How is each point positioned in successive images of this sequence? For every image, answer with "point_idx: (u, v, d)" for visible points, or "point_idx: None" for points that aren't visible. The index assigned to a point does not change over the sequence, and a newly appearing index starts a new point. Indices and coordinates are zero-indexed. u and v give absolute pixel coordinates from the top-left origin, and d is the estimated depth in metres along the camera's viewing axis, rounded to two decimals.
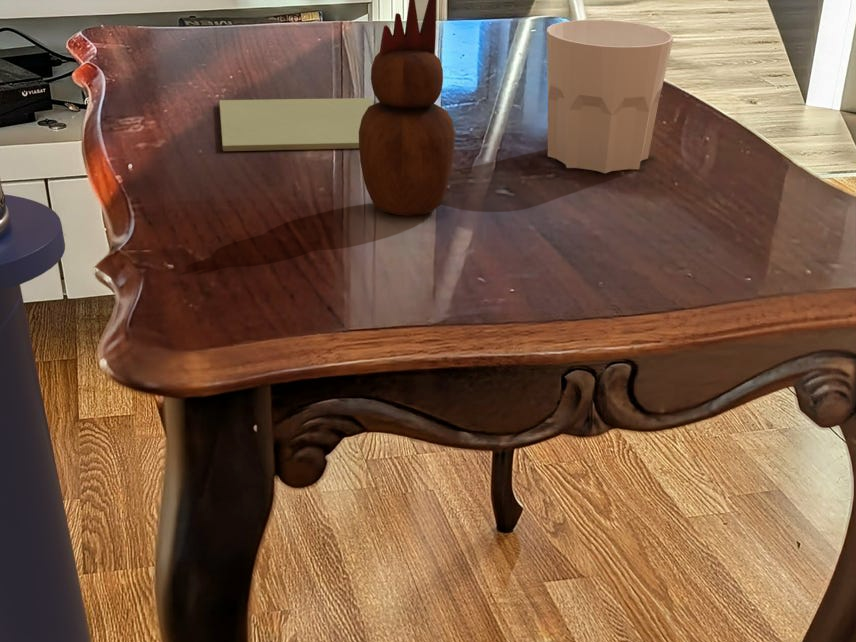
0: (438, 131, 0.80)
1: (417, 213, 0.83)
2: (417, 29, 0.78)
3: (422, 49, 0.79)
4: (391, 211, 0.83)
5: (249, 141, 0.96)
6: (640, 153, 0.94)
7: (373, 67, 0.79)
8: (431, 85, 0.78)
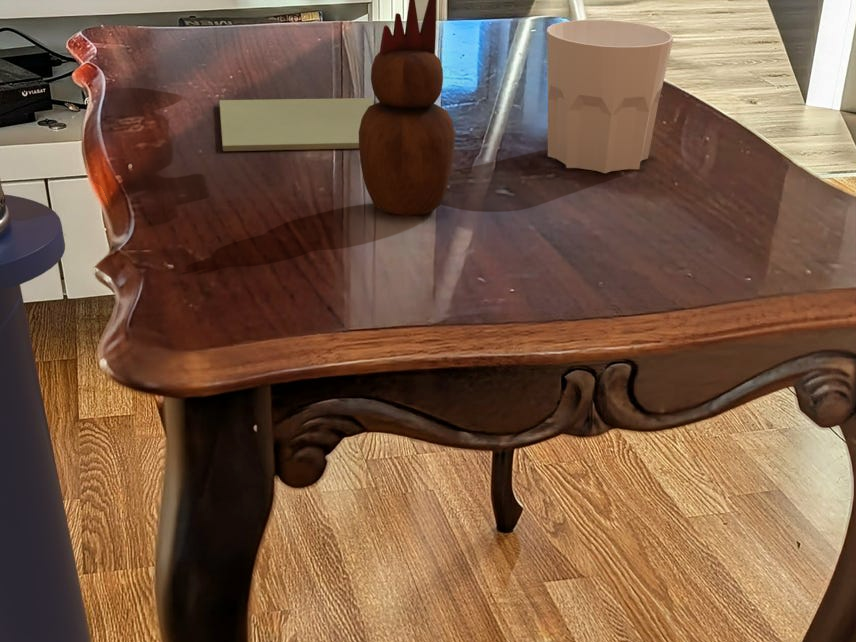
0: (438, 131, 0.80)
1: (417, 213, 0.83)
2: (417, 29, 0.78)
3: (422, 49, 0.79)
4: (391, 211, 0.83)
5: (249, 141, 0.96)
6: (640, 153, 0.94)
7: (373, 67, 0.79)
8: (431, 85, 0.78)
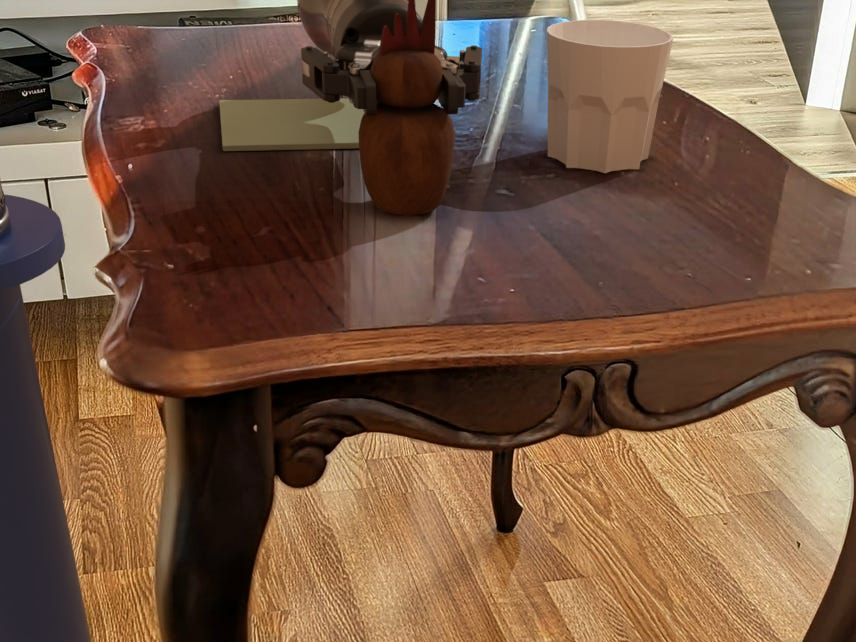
0: (438, 131, 0.80)
1: (417, 213, 0.83)
2: (417, 29, 0.78)
3: (422, 49, 0.79)
4: (391, 211, 0.83)
5: (249, 141, 0.96)
6: (640, 153, 0.94)
7: (373, 67, 0.79)
8: (431, 85, 0.78)
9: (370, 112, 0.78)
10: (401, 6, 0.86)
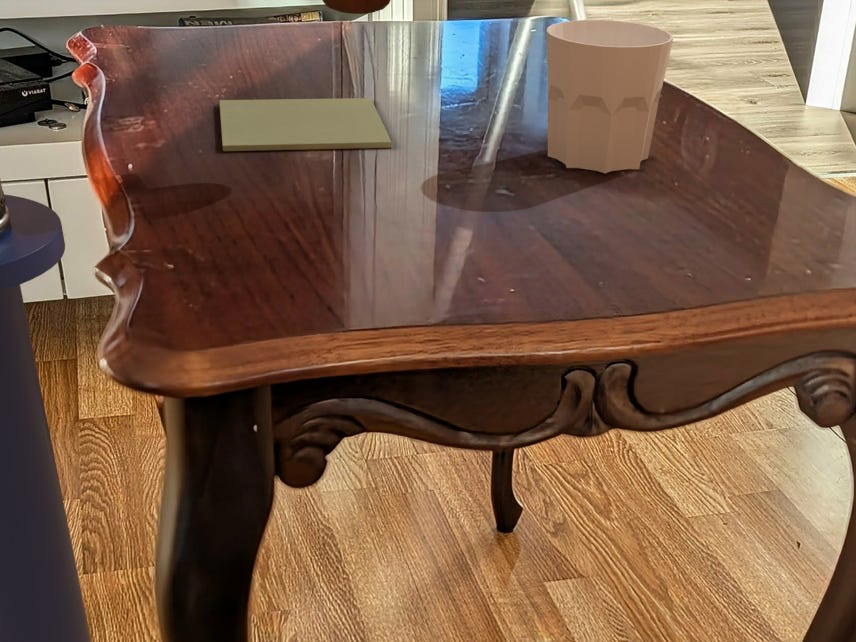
0: None
1: (375, 9, 0.88)
2: None
3: None
4: (353, 9, 0.87)
5: (249, 141, 0.96)
6: (640, 153, 0.94)
7: None
8: None
9: None
10: None
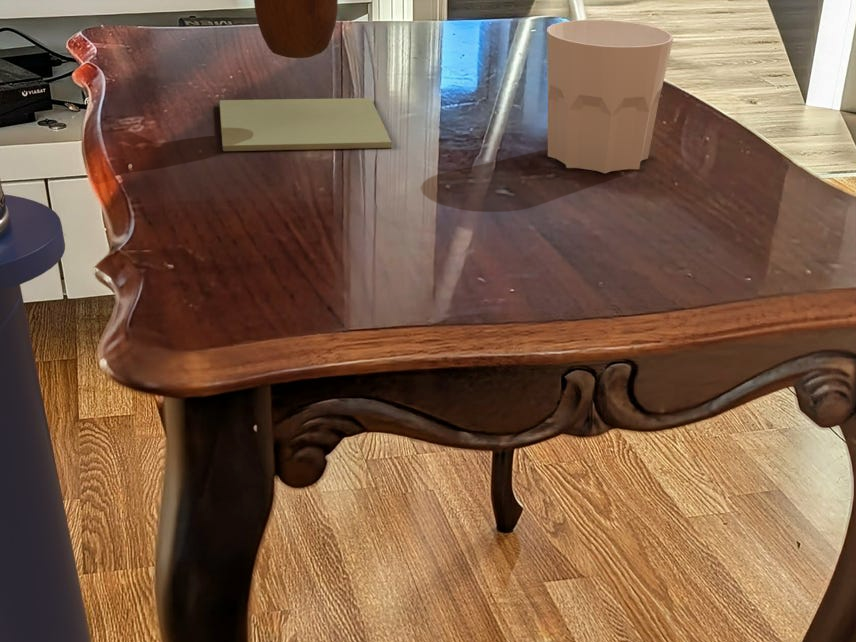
0: None
1: (319, 52, 0.98)
2: None
3: None
4: (301, 54, 0.96)
5: (249, 141, 0.96)
6: (640, 153, 0.94)
7: None
8: None
9: None
10: None
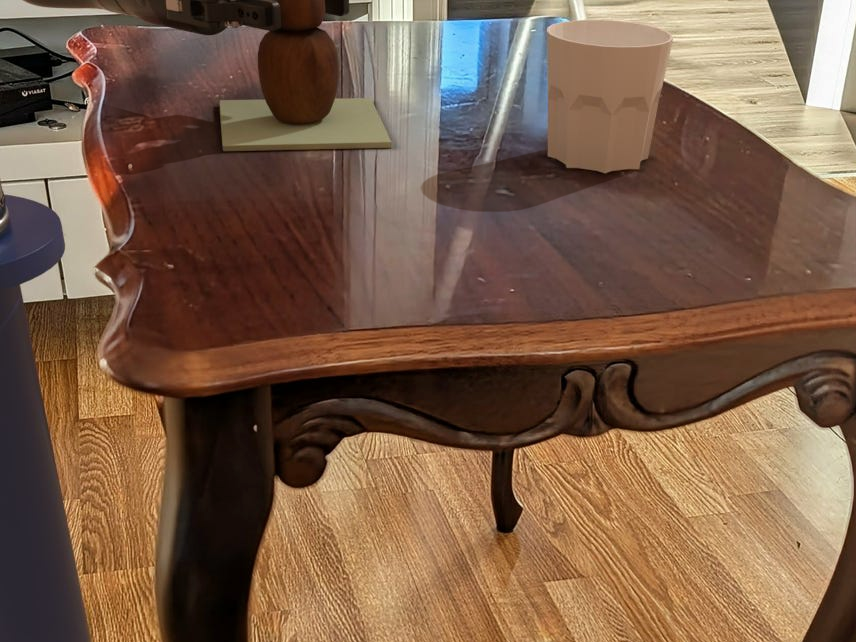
0: (333, 45, 0.98)
1: (321, 118, 1.01)
2: None
3: None
4: (304, 121, 0.99)
5: (249, 141, 0.96)
6: (640, 153, 0.94)
7: (277, 0, 0.94)
8: (324, 7, 0.96)
9: (276, 27, 0.93)
10: None
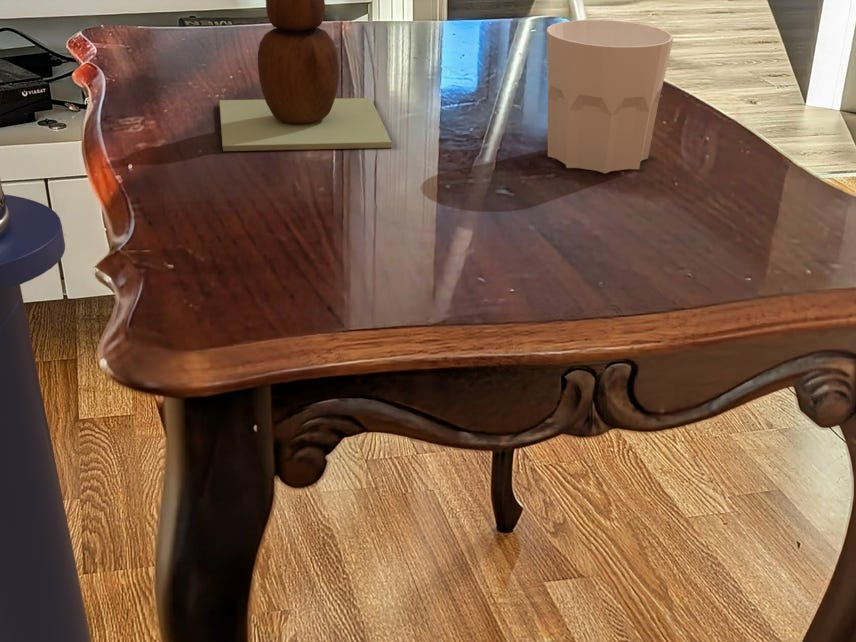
0: (333, 45, 0.98)
1: (321, 118, 1.01)
2: None
3: None
4: (304, 121, 0.99)
5: (249, 141, 0.96)
6: (640, 153, 0.94)
7: (277, 0, 0.94)
8: (324, 7, 0.96)
9: None
10: None
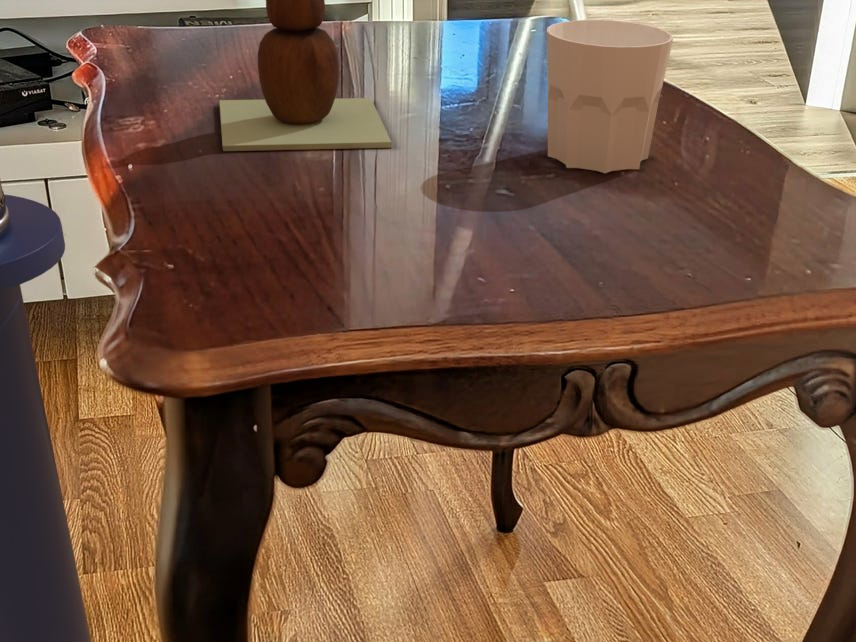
0: (333, 45, 0.98)
1: (321, 118, 1.01)
2: None
3: None
4: (304, 121, 0.99)
5: (249, 141, 0.96)
6: (640, 153, 0.94)
7: (277, 0, 0.94)
8: (324, 7, 0.96)
9: None
10: None
